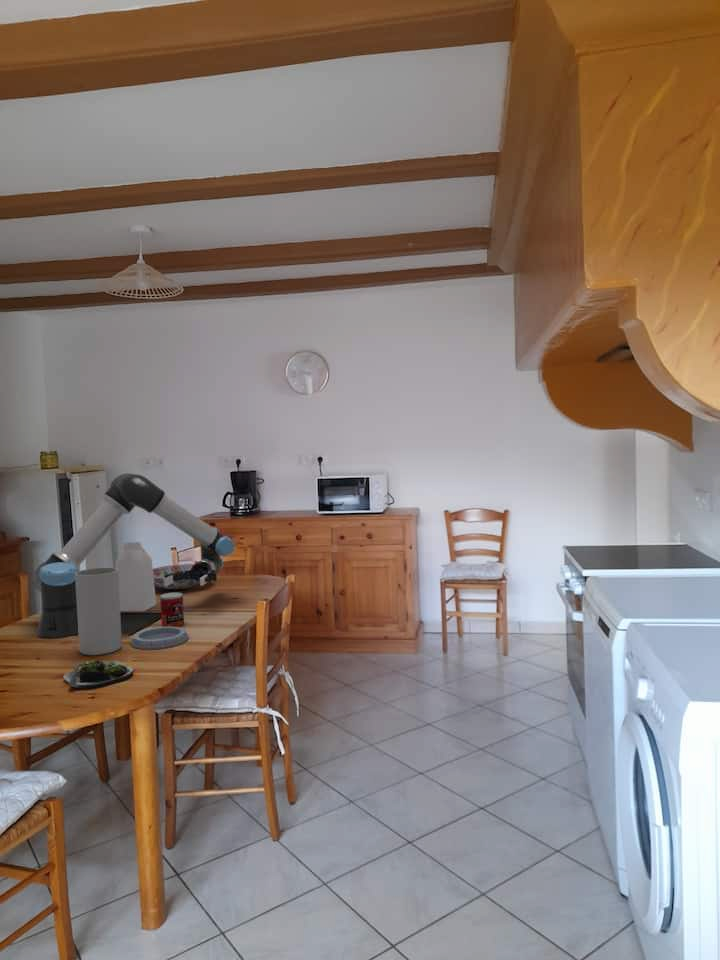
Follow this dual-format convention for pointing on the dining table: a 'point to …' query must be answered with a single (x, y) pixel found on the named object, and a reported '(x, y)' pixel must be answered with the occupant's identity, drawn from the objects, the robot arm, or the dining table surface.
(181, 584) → the ceramic bowl
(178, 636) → the round tray
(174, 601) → the canned food
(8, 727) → the dining table surface
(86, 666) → the salad plate
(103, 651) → the cylinder vase
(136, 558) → the milk
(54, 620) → the robot arm
